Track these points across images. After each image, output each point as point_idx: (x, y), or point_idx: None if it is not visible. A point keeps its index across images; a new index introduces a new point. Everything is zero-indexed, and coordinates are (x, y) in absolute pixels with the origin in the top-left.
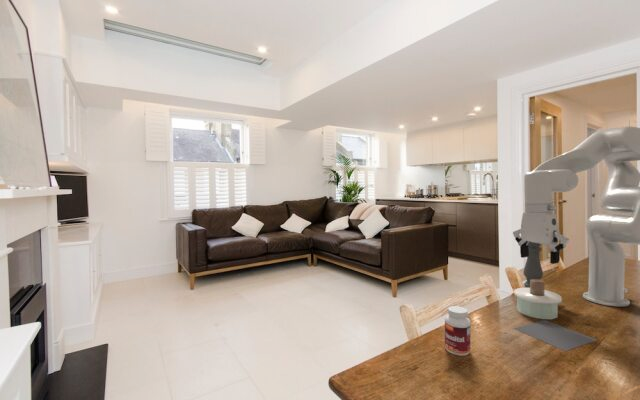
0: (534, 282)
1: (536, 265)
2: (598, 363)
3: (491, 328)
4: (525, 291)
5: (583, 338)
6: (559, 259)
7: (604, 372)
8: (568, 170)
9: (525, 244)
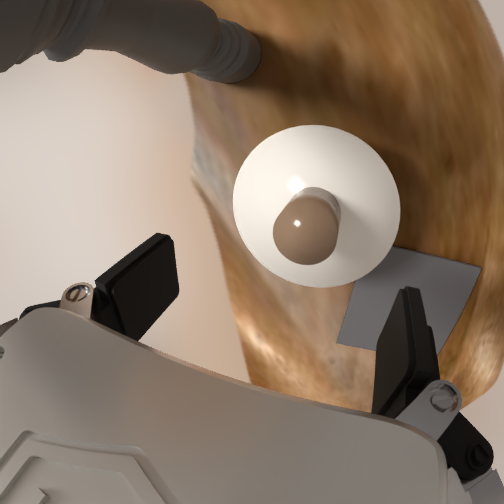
0: (306, 263)
1: (172, 36)
2: (474, 352)
3: (304, 360)
4: (272, 218)
5: (459, 286)
6: (431, 330)
7: (477, 368)
8: None
9: (108, 326)
